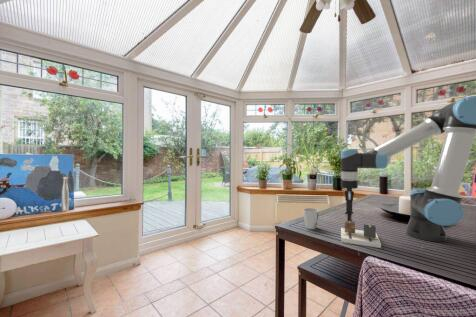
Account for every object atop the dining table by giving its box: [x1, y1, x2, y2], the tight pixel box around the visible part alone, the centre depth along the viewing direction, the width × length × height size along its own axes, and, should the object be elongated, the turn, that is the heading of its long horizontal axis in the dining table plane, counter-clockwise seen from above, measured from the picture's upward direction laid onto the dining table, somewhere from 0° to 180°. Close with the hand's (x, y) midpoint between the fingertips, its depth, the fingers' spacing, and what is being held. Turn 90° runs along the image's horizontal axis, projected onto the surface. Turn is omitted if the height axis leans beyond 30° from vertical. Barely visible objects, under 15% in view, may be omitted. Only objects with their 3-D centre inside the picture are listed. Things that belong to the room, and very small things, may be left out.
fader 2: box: [363, 223, 377, 238], centre depth 98 cm, size 4×3×5 cm
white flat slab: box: [340, 227, 382, 249], centre depth 103 cm, size 16×15×2 cm
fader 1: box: [344, 220, 356, 233], centre depth 104 cm, size 4×3×5 cm
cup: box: [302, 207, 320, 230], centre depth 119 cm, size 8×8×10 cm
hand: (349, 226), depth 107 cm, fingers closed
